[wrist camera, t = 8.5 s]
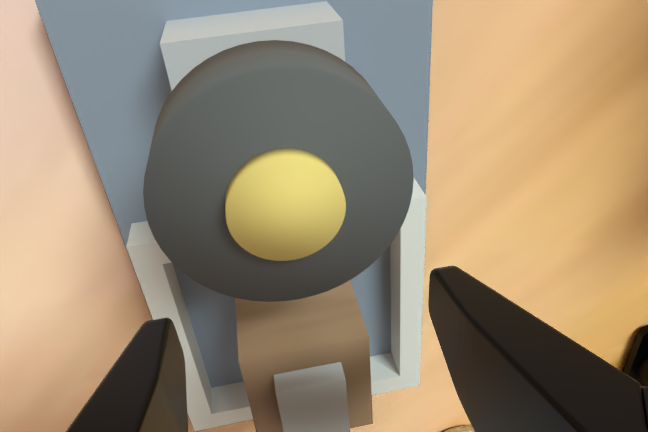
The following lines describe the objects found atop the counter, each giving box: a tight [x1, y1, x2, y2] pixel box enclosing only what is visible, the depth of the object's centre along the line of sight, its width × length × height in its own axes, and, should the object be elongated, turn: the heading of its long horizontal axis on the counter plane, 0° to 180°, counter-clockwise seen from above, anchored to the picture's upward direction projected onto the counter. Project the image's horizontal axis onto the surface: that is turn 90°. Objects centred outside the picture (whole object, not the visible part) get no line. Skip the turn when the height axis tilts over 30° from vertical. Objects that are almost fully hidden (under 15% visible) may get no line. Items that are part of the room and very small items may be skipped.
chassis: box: [35, 0, 433, 431], centre depth 21 cm, size 19×12×4 cm, turn 5°
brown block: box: [235, 280, 373, 432], centre depth 21 cm, size 5×4×6 cm
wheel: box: [143, 40, 414, 302], centre depth 12 cm, size 6×6×2 cm
